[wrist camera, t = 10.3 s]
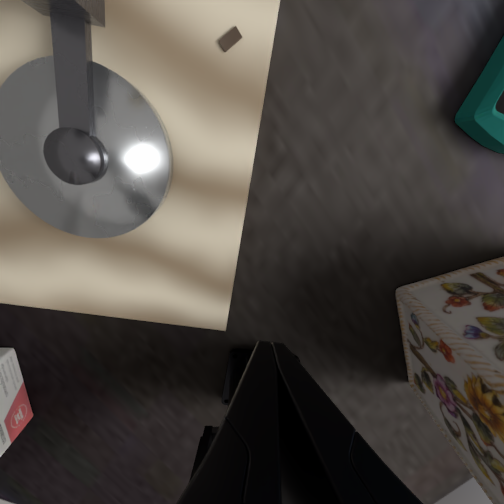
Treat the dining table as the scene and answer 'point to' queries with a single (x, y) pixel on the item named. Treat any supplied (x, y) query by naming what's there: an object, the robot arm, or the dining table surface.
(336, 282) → the dining table surface
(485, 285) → the decorative jar
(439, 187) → the dining table surface
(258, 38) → the dial board
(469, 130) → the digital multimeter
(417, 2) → the dining table surface
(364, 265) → the dining table surface
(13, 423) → the ink cartridge box
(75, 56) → the dial
